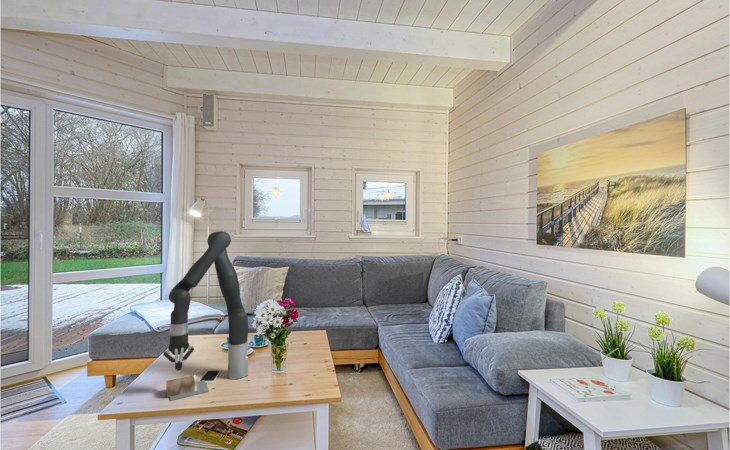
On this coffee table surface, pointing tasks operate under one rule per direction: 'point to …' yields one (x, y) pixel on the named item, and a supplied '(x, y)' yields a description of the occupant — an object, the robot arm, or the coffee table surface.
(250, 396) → the coffee table surface
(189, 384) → the brown wooden block
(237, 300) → the robot arm
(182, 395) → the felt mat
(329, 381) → the coffee table surface
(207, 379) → the smartphone
